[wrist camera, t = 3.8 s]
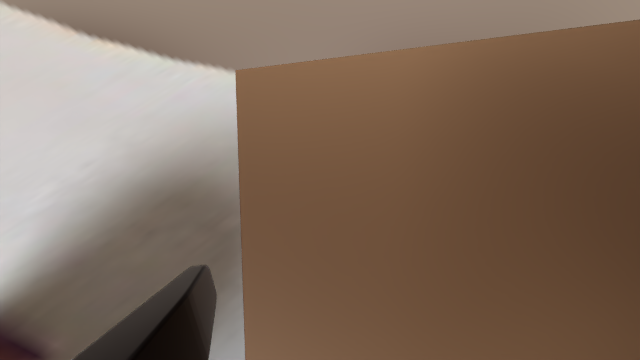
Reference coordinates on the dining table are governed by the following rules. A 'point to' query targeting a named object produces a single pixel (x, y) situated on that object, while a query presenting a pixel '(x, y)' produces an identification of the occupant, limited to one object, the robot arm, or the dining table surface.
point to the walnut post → (445, 201)
